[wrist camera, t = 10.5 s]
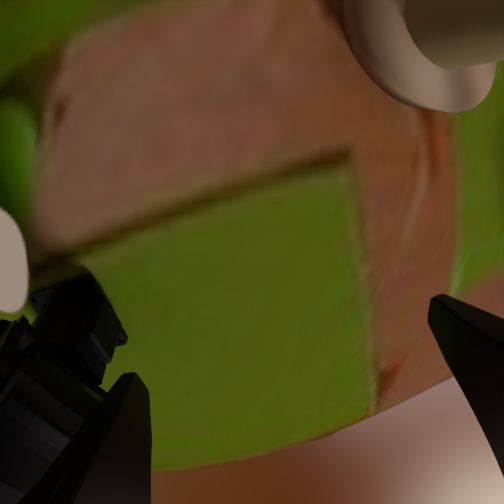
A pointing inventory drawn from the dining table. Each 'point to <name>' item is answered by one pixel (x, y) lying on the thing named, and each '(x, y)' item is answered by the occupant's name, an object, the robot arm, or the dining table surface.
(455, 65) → the cork
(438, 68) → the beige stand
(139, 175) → the dining table surface
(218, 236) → the dining table surface
